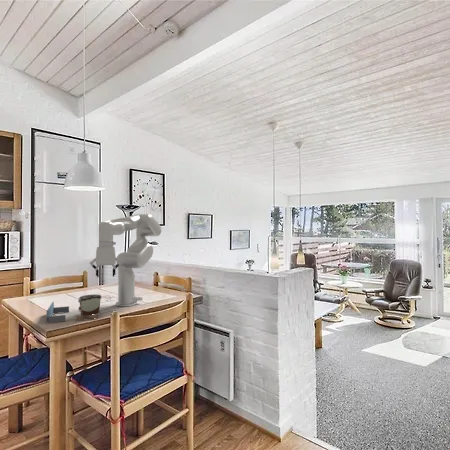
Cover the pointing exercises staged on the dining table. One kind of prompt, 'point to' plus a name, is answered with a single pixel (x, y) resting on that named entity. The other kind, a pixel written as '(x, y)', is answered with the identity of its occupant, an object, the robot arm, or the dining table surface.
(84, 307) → the food container
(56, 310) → the slate stop bracket
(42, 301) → the dining table surface
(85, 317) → the walnut sleeve
